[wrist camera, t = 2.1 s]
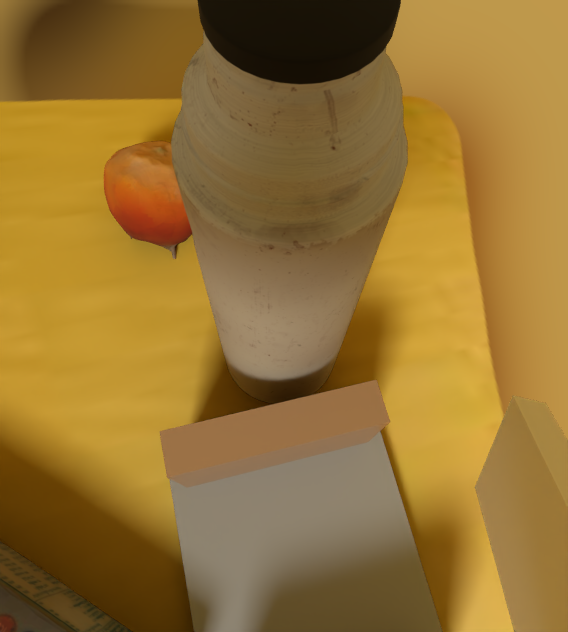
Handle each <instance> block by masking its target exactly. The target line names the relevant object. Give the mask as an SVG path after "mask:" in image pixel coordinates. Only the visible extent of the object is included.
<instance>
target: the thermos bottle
mask: <svg viewBox="0 0 568 632" xmlns="http://www.w3.org/2000/svg"><path fill="white" fill-rule="evenodd" d="M400 4H401V0H198V6H199V13H200V19H201V24H202V26H203V29H204V32H203V40H204V43H203V44H202V46H201V47H200V48H199V49H198V51H197V52H196V53H195V55H194V56H193V57H192V59H191V61H190V63H189V65H188V67H187V69H186V72H185V76H184V80H183V85H182V107H181V111H180V113H179V115H178V118H177V120H176V122H175V126H174V131H173V136H172V140H171V149H172V164H173V168H174V172H175V175H176V179H177V183H178V186H179V190H180V193H181V197H182V200H183V204H184V207H185V210H186V214H187V217H188V220H189V223H190V226H191V230H192V234H193V239H194V244H195V248H196V252H197V256H198V260H199V264H200V267H201V271H202V275H203V279H204V282H205V286H206V290H207V293H208V297H209V301H210V304H211V308H212V312H213V315H214V319H215V323H216V326H217V330H218V334H219V338H220V341H221V345H222V349H223V352H224V356H225V360H226V363H227V367H228V370H229V372H230V374H231V376H232V378H233V380H234V381H235V382H236V383H237V384H238V386H239V387H240V388H241V389H242V390H243V391H245V392H246V393H247V394H248V395H250V396H252V397H254V398H256V399H258V400H260V401H264V402H267V403H273V404H277V403H281V402H285V401H289V400H293V399H297V398H302V397H306V396H310V395H312V394H314V393H315V392H316V391H317V390H318V389H320V388H321V387H322V385H323V384H324V383H325V382H326V380H327V379H328V377H329V375H330V373H331V371H332V369H333V366H334V364H335V361H336V358H337V356H338V353H339V350H340V348H341V345H342V342H343V340H344V337H345V334H346V332H347V329H348V326H349V324H350V321H351V318H352V316H353V313H354V310H355V308H356V305H357V302H358V300H359V297H360V294H361V292H362V289H363V286H364V284H365V281H366V278H367V276H368V273H369V271H370V268H371V265H372V263H373V260H374V257H375V255H376V252H377V249H378V247H379V244H380V241H381V239H382V236H383V233H384V231H385V228H386V225H387V223H388V220H389V217H390V215H391V212H392V209H393V207H394V204H395V201H396V199H397V196H398V193H399V191H400V188H401V185H402V182H403V178H404V174H405V170H406V166H407V138H406V134H405V130H404V126H403V104H402V88H401V84H400V80H399V76H398V73H397V71H396V69H395V67H394V65H393V64H392V61H391V60H390V58H389V57H388V55H387V54H386V53H385V52H386V46H387V44H388V42H389V41H390V39H391V37H392V34H393V31H394V28H395V24H396V20H397V16H398V12H399V8H400Z"/></svg>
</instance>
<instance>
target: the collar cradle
mask: <svg viewBox="0 0 568 632" xmlns="http://www.w3.org/2000/svg"><path fill="white" fill-rule="evenodd" d="M388 423H390V420H389V417H388V414H387V411H386V407H385V404H384V401H383V398H382V395H381V392H380V389H379V386H378V382H377V380H373V381H369V382H364V383H360V384H356V385H352V386H348V387H343V388H339V389H335V390H331V391H327V392H323V393H318V394H314V395H310V396H306V397H302V398H297V399H293V400H289V401H285V402H281V403H277V404H272V405H268V406H264V407H260V408H256V409H251V410H247V411H243V412H239V413H235V414H230V415H226V416H222V417H218V418H214V419H210V420H205V421H201V422H197V423H193V424H189V425H184V426H180V427H176V428H172V429H168V430H164V431H160V436H161V442H162V449H163V455H164V461H165V467H166V474H167V478H169V479H170V485H171V491H172V497H173V503H174V510H175V516H176V522H177V528H178V535H179V541H180V547H181V553H182V560H183V566H184V572H185V578H186V585H187V591H188V597H189V603H190V609H191V616H192V622H193V628H194V632H443V631H442V628H441V625H440V622H439V618H438V615H437V612H436V609H435V605H434V602H433V599H432V596H431V593H430V589H429V586H428V583H427V580H426V576H425V573H424V570H423V567H422V564H421V560H420V557H419V554H418V551H417V548H416V544H415V541H414V538H413V535H412V531H411V528H410V525H409V522H408V519H407V515H406V512H405V509H404V506H403V502H402V499H401V496H400V493H399V490H398V486H397V483H396V480H395V477H394V474H393V470H392V467H391V464H390V461H389V457H388V454H387V451H386V448H385V445H384V441H383V438H382V435H381V432H380V431H381V430H382V429H383V428H384V427H385V426H386V425H387V424H388Z"/></svg>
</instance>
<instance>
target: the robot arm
mask: <svg viewBox="0 0 568 632" xmlns="http://www.w3.org/2000/svg"><path fill="white" fill-rule="evenodd" d="M475 489H476V493H477V496H478V500H479V504H480V507H481V511H482V515H483V518H484V522H485V526H486V529H487V533H488V537H489V540H490V544H491V548H492V551H493V555H494V559H495V562H496V566H497V570H498V573H499V577H500V581H501V585H502V588H503V592H504V596H505V599H506V603H507V607H508V610H509V614H510V618H511V621H512V625H513V629H514V632H568V440H567V438H566V437H565V435H564V433H563V432H562V430H561V428H560V427H559V425H558V423H557V421H556V419H555V418H554V416H553V414H552V413H551V411H550V409H549V407H548V406H547V404H546V403H544V402H539V401H535V400H531V399H526V398H522V397H518V396H512V399H511V401H510V403H509V406H508V409H507V411H506V413H505V416H504V418H503V420H502V423H501V425H500V428H499V430H498V432H497V435H496V437H495V440H494V442H493V445H492V447H491V449H490V452H489V454H488V457H487V459H486V462H485V464H484V466H483V469H482V471H481V474H480V476H479V478H478V481H477V483H476V486H475Z"/></svg>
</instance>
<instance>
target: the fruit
mask: <svg viewBox="0 0 568 632" xmlns="http://www.w3.org/2000/svg"><path fill="white" fill-rule="evenodd" d="M104 169H105V170H104V190H105V196H106V199H107V203H108V206H109V209H110V211H111V213H112V215H113V216H114V218H115V219H116V221H117V222H118V223H119V224H120V225H121V227H122V228H123V229H124V230H125V231H126V233H127V234H128V235H129V236H130V237H131V239H132V238H134V239H137V240H141V241H147V242H150V243H153V244H156V245H159V246H162V247H164V248H166V249H168V250H170V251H171V252H172V255H173V259H174V258H175V259H176V253H175V246H176V245H177V244H178V243H181V242H184V241H186V240H187V239H188V238H189V236H190V235H191V234H192V230H191V226H190V223H189V220H188V217H187V214H186V210H185V207H184V204H183V200H182V197H181V193H180V190H179V186H178V183H177V179H176V175H175V172H174V168H173V164H172V149H171V143H170V142H166V141H151V142H144V143H140V144H136V145H133V146H129V147H126V148H123V149H120V150H119V151H117V152H116V153H115V154H114V155H113V156H112V157H111V159H109V160H108V161H107V163H106V165H105V168H104Z"/></svg>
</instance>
